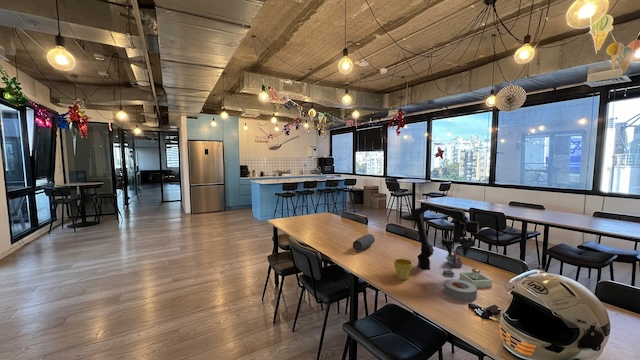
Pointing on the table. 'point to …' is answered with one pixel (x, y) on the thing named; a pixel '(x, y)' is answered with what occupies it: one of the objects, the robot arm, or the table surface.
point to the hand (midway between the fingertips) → (457, 256)
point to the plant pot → (403, 268)
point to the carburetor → (454, 260)
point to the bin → (481, 283)
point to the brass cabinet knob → (475, 274)
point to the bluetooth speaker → (363, 242)
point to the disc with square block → (448, 273)
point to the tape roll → (460, 290)
